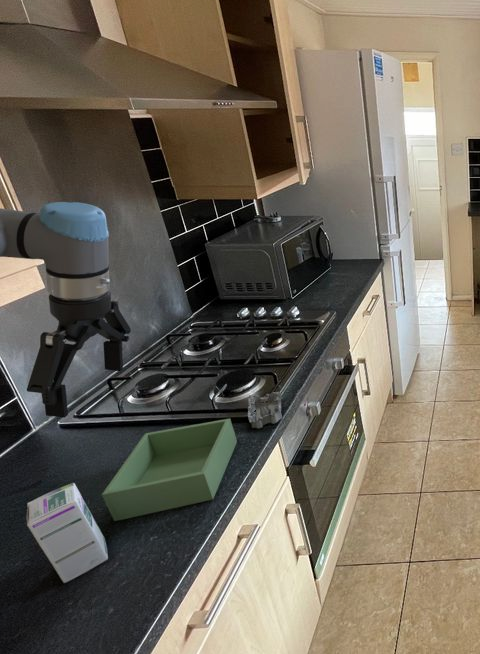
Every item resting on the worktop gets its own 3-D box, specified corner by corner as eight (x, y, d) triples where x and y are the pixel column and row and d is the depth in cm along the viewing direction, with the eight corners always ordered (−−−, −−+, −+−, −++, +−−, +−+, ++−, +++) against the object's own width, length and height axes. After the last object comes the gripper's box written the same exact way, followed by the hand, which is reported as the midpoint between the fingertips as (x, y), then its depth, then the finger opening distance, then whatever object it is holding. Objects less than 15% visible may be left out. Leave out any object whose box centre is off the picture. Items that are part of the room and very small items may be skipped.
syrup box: (109, 559, 73) (79, 499, 68) (62, 585, 69) (25, 524, 64) (105, 538, 77) (75, 480, 72) (59, 562, 73) (25, 502, 68)
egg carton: (251, 407, 111) (248, 394, 110) (283, 398, 114) (280, 386, 113) (249, 432, 102) (245, 418, 101) (283, 422, 106) (280, 409, 104)
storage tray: (114, 521, 80) (101, 494, 78) (154, 457, 95) (145, 433, 92) (213, 499, 85) (204, 473, 82) (237, 441, 99) (230, 418, 97)
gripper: (42, 331, 62) (55, 441, 69) (152, 269, 84) (152, 356, 91) (-21, 323, 60) (-2, 436, 67) (108, 262, 83) (112, 351, 90)
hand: (87, 390), depth 79 cm, fingers open, 13 cm apart
